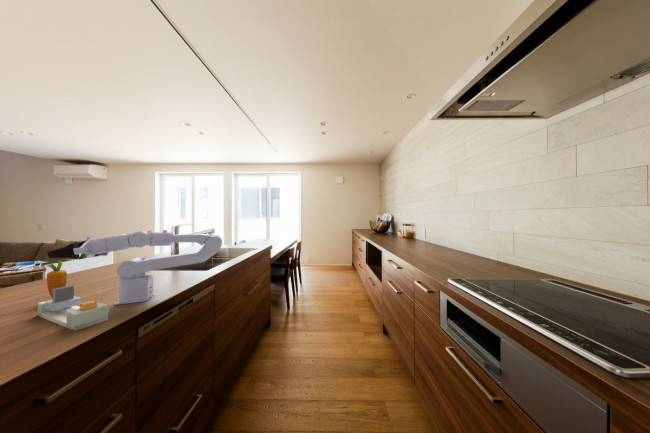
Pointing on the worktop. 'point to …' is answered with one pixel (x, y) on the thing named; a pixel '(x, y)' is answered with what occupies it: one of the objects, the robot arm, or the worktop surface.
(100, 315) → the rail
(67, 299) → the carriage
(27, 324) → the worktop surface
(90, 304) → the orange small block
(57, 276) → the carrot
